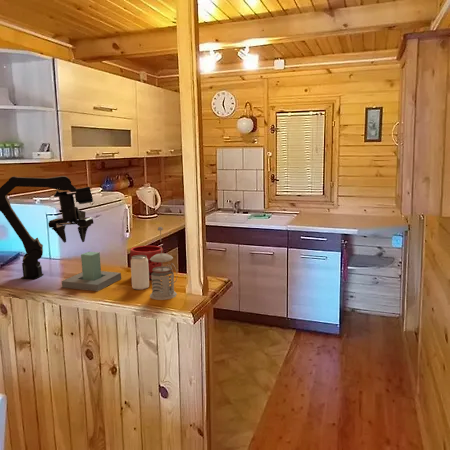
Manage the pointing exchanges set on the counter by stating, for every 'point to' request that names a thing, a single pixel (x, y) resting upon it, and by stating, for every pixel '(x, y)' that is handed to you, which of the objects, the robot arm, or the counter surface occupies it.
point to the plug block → (91, 266)
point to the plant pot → (149, 252)
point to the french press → (162, 277)
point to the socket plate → (96, 285)
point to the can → (139, 272)
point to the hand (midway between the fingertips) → (74, 242)
